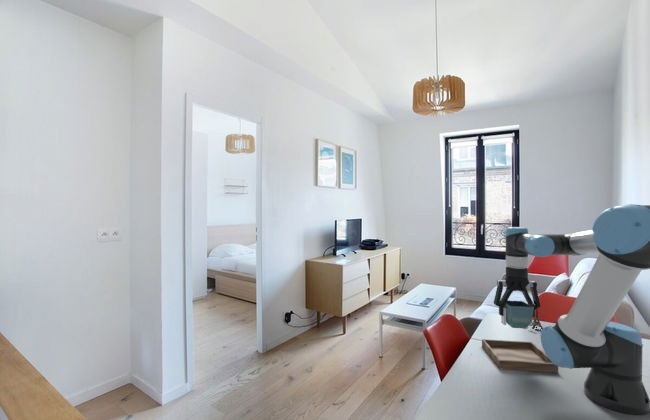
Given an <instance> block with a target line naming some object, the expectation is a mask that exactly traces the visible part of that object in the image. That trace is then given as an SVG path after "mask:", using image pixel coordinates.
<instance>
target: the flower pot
mask: <svg viewBox="0 0 650 420" xmlns="http://www.w3.org/2000/svg"><path fill="white" fill-rule="evenodd" d="M504 307H505V308H506V325H508V326H509V327H511V328H513V329H523V328H527V327H528V326H529V324H530V323H531V321H532V322H533V318H534V317H533V311H534V307H533V306H531V305H529V304H528V303H527V302H525V301H523V300H509V299H508V300H507V302H506V304H505V306H504Z"/></svg>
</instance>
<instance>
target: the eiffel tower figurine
mask: <svg viewBox="0 0 650 420" xmlns="http://www.w3.org/2000/svg"><path fill="white" fill-rule="evenodd" d="M538 309H539V308H536V310H535V316H534V319H533V320H532V326H533V327H532V329H534V328H535V326H537V327H541V329H543V328H544V327H543V326H542V323H541V322H540V318H539V311H538ZM528 328H529V327H527V328H522V329H524V330H526V329H528ZM532 329H531V330H530V331H529V332H530V333H534V334H536V331H535V332H534V331H533V332H531V331H532Z"/></svg>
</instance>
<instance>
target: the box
mask: <svg viewBox="0 0 650 420" xmlns="http://www.w3.org/2000/svg"><path fill="white" fill-rule="evenodd" d="M481 347H482V348H483V350H484V351H485V352H486V353H487V355H488V357H490V358H491V360H492V361H493V363H494V364H495V365H496V366H497V368H498V369H499V370H510V371H511V370H513V371H524V372H525V371H528V372H541V373H542V372H544V373H555V374H556V373H557V374H559V367H558V366H556V365H555V364H553V363H552V362H551V361H550V360H549V358H548V357H547V355H546V354H545V352H544V350H542V349H541V348H540V347H538V345H536V344H535V343H533V341H523V340H522V341H520V340H519V341H518V340H506V339H505V340H502V339H486V338H485V339H484V338H483V339H481Z"/></svg>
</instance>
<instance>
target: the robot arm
mask: <svg viewBox="0 0 650 420" xmlns="http://www.w3.org/2000/svg"><path fill="white" fill-rule="evenodd" d="M505 231H506V232H505V236H504V237H505V266H506V267H505V279H502V280H500V279H497V280H496V285H497V286H496V290H495V294H494V299H493V304H494V305H495V306H496V307H498V314H499V316H500V317H501V321H500V323H501V324H502V325H504V326H506V325H507V323H506V308H505V307H504V306H505V304H506V302H507V300H508V301H509V298H510V296H511V295H512V293H514V292H521V293H522V295H523V297H524V298H525V300H526V303H527V304H529V305H531V306H533V307H534V311H533V317H532V318H535V315H536V308H538V309H539V308H541V302H540V298H539V293H538V289H537V286H538V283H537V282H536V281H534V280H529V279H528V278H529V268H528V267H529V256H533V257H536V258H537V257H539V258H540V257H541V258H546V257H549V256H584V255H587V254H588V255H589V254H596V253H597V254H598V256H597V259H596V260H595V262H594V264H593V266H592V268H591V270H590V271H589V274H588V275H587V277H586V280H585V281H584V284H583V285H582V287H581V289H580V291H579V293H578V295H577V296H576V298H575V300H574V302H573V304H572V306H571V308H570V310H569V311H568V313H567V314H566V313H565V314H562V315H561V316H559V317H558V319H557V321H556V322H555V324H554V326H550V325H548V326H544V327H542V328H543V329H542V331H541V330H540V342H541V347H542V349H543V352H544V353H545V354H546V355H547V357H548V358H549V360H550V361H551V362H552V363H553V364H555V365H556V366H558V368H562V369H563V368H565V369H589V372H588V374H587V376H586V379H585V380H584V383H583V392H584V394H585V395H586V396H587V397H588V398H589V399H590V400H591V401H593V402H595V403H597V405H601V406H603V407H605V408H606V409H607V408H608V409H611V410H613V411H617V412H620V413H624V414H629V415H636V416H637V415H646V414H649V413H650V397H649V396H648V393H647V391H646V387H645V384H644V382H643V346H644V344H643V340H642V337H643V336H642V334H641V332H639V330H637V329H635V328H633V327H631V326H629V325H626V324H622V323H619V322H615V321H612V318H613V317H614V315H615V313H616V311H617V310H618V309H619V307H620V305H621V304H622V302H623V301H624V299H625V298H626V296H627V294H628V292H629V291H630V289H631V288H632V286H633V284H634V283H635V281H636V280H637V278H638V277H639V275H640V273H641V272H642V271H645V270H650V205H649V204H648V205H643V204H632V203H631V204H624V205H616V206H612V207H609V208H606V209H605V210H604V211H602V212H601V213H600V214H599V215H597V217H596V218H595V220H594V223H593V226H592V229H590V230H589V229H588V230H584V231H577V232H572V233H563V234H562V233H561V234H560V233H559V234H554V233H553V234H551V233H550V234H549V233H547V234H543V233H541V234H533V233H529V229H528V227H524V226H523V227H522V226H509V227H507V228H506V230H505ZM505 285H506V288H505V291H504V293H503V290H504V286H505ZM527 286H529V287H530V292H531V293H530V294H531V295H530V294H529V291H528V290H527ZM502 294H503V295H502ZM531 296H532V298H531ZM532 323H533V320H532V321H531V323H530V324H529V326H533V325H532Z"/></svg>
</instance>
